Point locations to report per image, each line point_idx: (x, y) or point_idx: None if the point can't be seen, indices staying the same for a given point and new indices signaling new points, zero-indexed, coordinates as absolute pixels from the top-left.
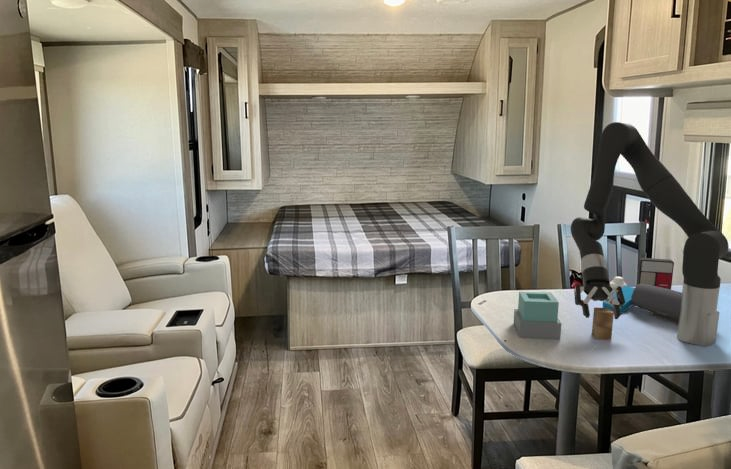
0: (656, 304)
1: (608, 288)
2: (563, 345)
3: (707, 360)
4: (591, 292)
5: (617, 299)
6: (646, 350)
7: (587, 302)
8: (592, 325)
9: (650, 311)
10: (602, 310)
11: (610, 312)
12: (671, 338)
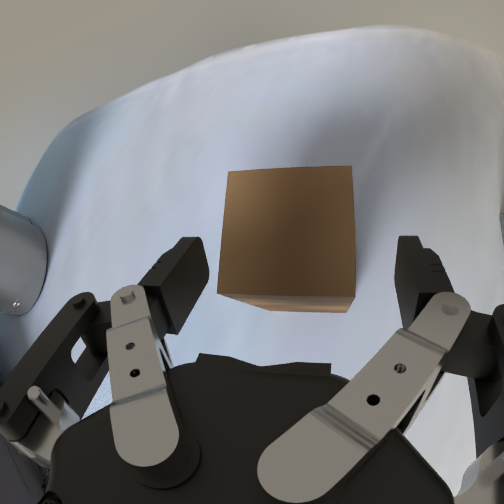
0: (3, 458)
1: (87, 450)
2: (487, 153)
3: (77, 129)
4: (384, 403)
5: (93, 389)
6: (181, 148)
7: (429, 301)
8: (347, 309)
9: (38, 482)
10: (301, 214)
11: (251, 172)
12: (58, 277)
